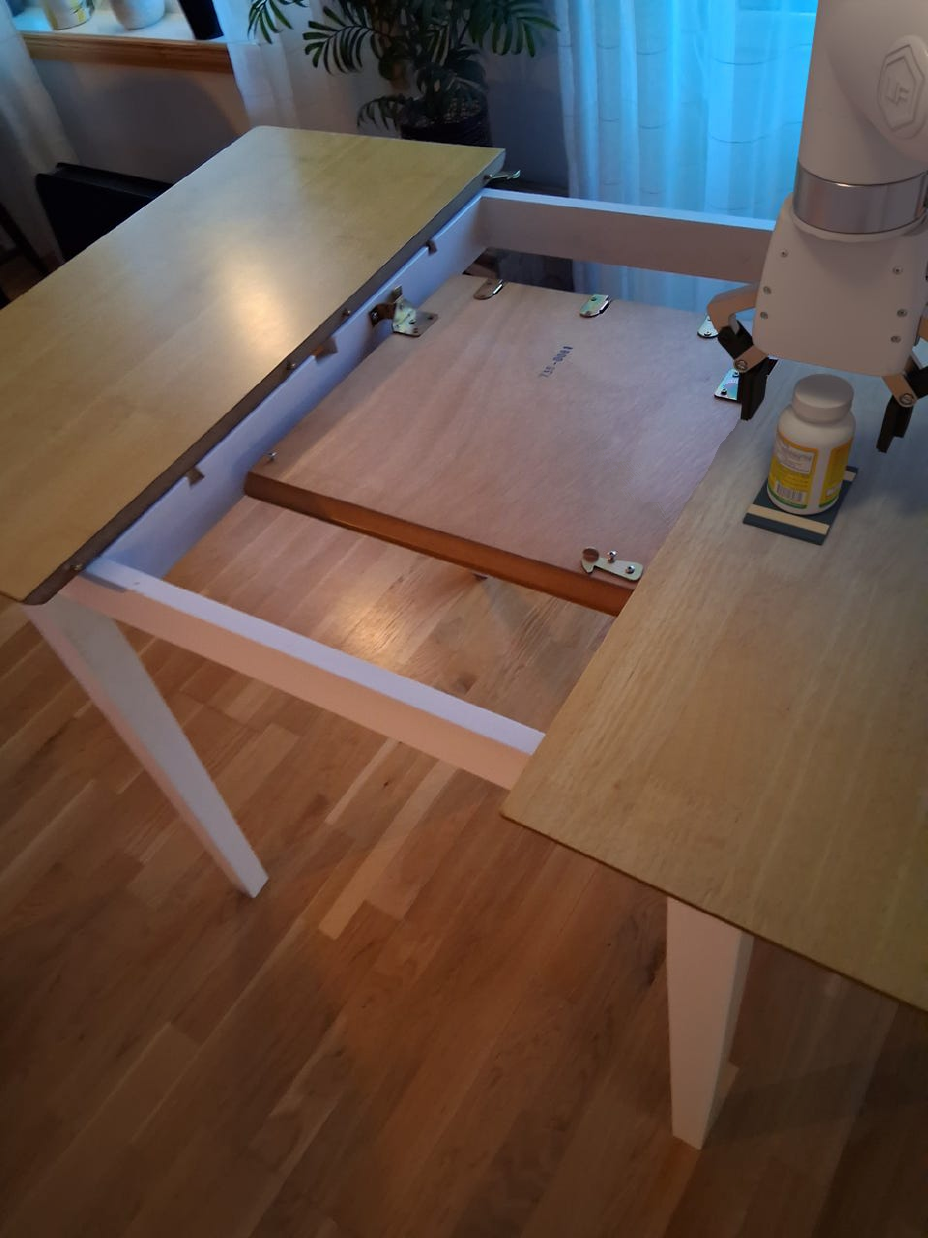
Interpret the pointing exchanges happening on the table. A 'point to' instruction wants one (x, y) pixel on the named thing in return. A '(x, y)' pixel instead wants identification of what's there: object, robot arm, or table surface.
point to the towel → (793, 524)
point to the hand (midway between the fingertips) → (817, 424)
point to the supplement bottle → (812, 445)
